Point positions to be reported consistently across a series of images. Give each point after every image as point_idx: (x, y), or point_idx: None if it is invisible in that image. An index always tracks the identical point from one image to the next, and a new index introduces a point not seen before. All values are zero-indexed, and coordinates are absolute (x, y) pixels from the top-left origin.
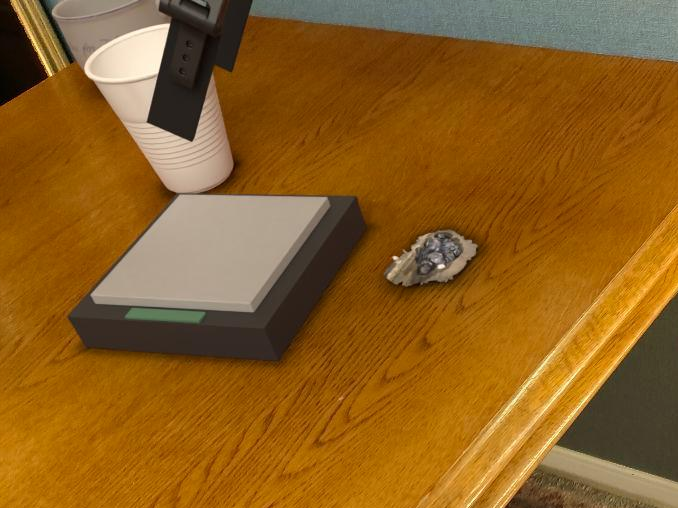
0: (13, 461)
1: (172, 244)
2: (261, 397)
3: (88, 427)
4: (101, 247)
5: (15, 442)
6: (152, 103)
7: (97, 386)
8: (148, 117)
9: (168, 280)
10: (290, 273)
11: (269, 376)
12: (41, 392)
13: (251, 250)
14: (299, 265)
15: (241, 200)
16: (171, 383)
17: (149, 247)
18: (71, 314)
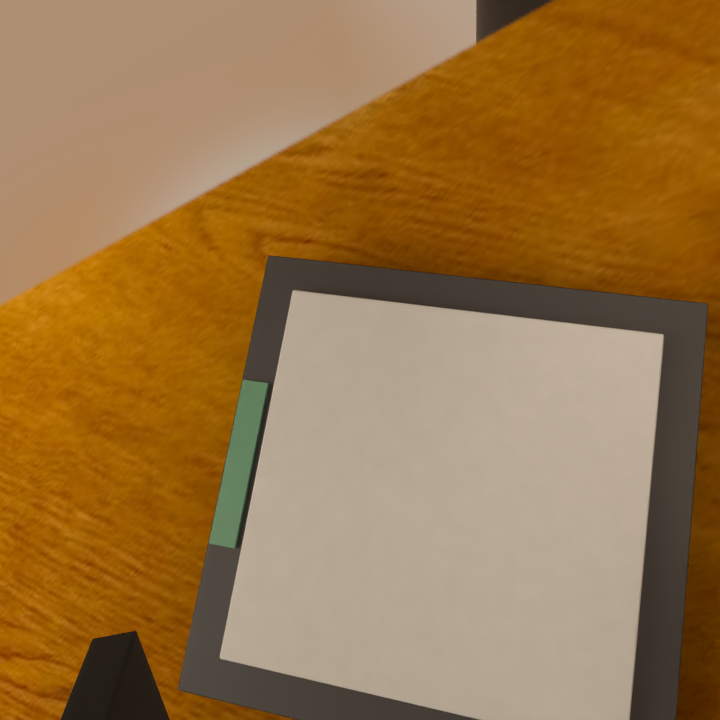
0: (42, 289)
1: (449, 399)
2: None
3: (94, 375)
4: (603, 159)
5: (80, 271)
6: (70, 702)
7: (187, 346)
8: (87, 656)
9: (320, 441)
10: (352, 702)
11: (172, 664)
12: (185, 255)
13: (406, 605)
14: (379, 717)
15: (624, 510)
16: (177, 479)
17: (445, 348)
18: (273, 262)
